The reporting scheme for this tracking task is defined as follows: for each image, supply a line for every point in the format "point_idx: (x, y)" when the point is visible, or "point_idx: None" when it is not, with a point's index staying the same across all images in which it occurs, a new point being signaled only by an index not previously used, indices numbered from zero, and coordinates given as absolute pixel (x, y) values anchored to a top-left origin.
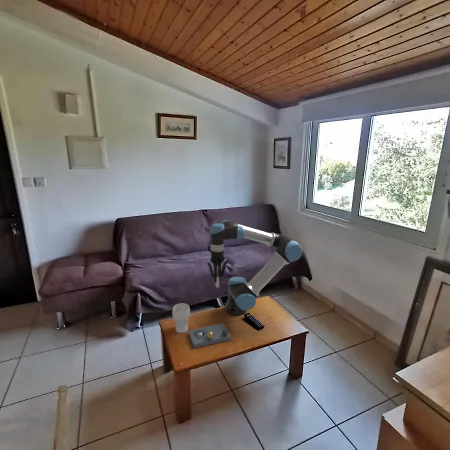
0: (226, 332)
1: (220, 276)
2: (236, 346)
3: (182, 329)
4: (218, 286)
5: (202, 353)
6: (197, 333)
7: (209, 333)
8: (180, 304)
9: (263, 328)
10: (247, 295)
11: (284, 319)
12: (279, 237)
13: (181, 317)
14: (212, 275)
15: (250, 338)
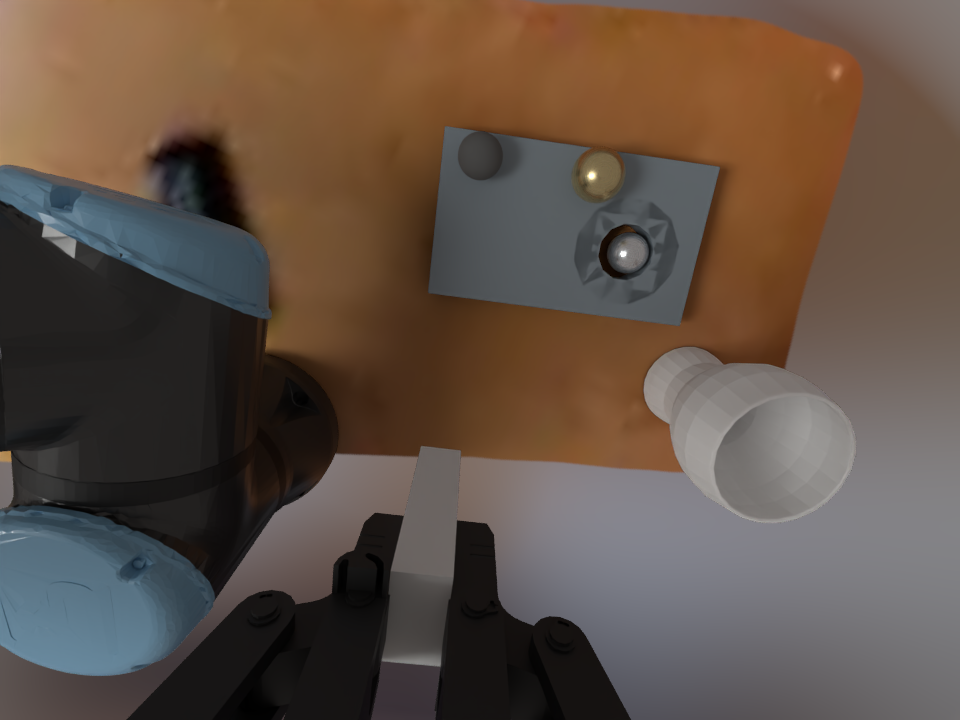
0: (478, 132)
1: (353, 581)
2: (445, 44)
3: (707, 357)
4: (431, 456)
5: (681, 94)
6: (639, 274)
7: (614, 162)
8: (750, 513)
9: (166, 135)
10: (67, 205)
11: None
12: None
13: (788, 371)
14: (582, 666)
15: (311, 76)
